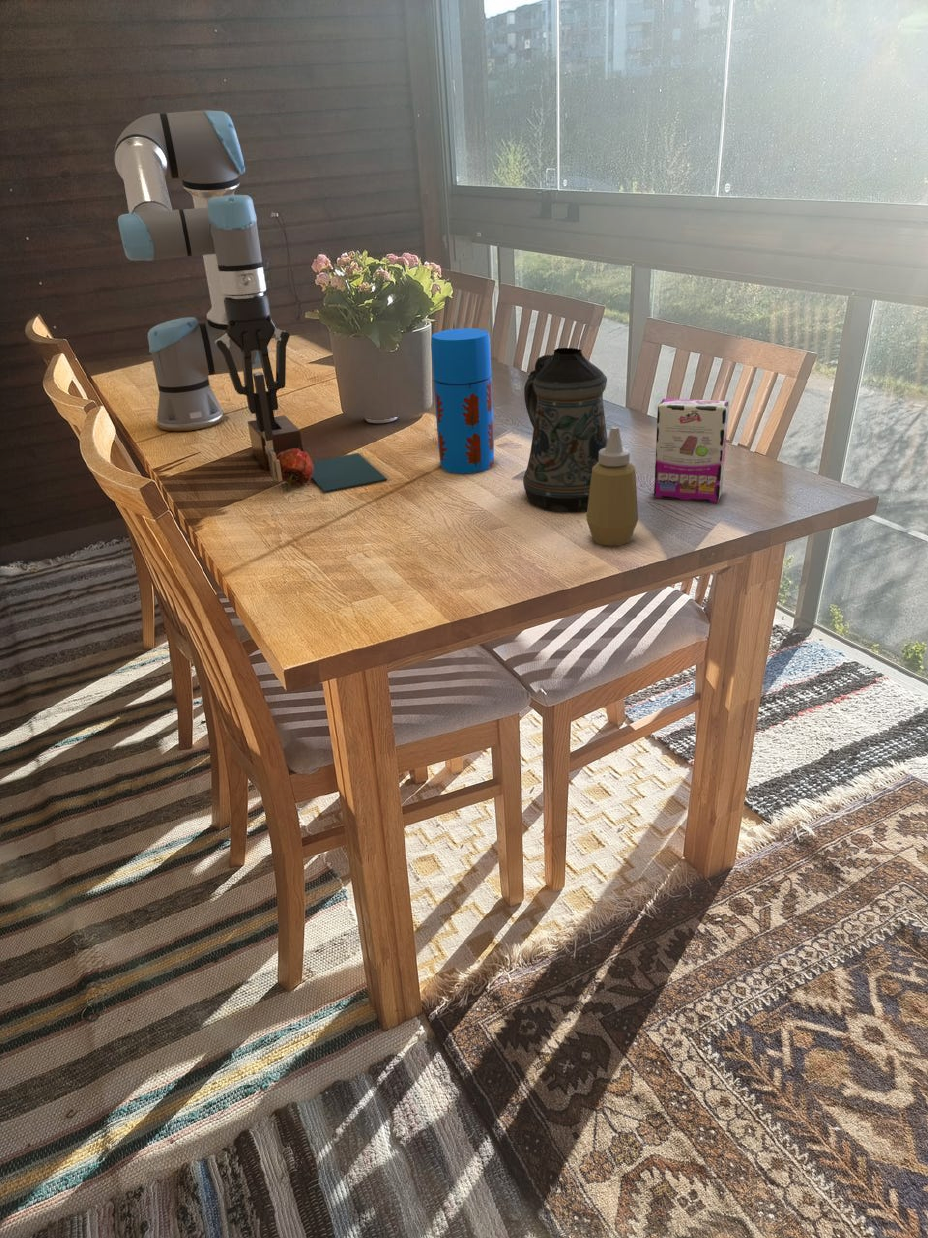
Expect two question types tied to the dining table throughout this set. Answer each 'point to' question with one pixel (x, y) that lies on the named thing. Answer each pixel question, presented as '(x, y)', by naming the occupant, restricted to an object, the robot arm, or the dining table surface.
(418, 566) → the dining table surface
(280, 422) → the fork stand
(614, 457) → the squeeze bottle
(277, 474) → the fork
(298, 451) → the red round fruit
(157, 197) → the robot arm
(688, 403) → the candy bar box
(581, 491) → the beer stein
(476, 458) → the thermos
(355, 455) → the mat
